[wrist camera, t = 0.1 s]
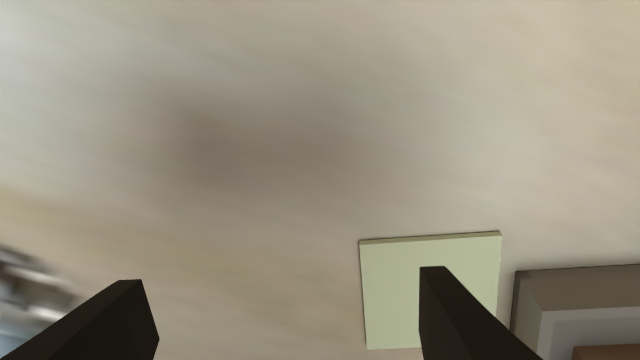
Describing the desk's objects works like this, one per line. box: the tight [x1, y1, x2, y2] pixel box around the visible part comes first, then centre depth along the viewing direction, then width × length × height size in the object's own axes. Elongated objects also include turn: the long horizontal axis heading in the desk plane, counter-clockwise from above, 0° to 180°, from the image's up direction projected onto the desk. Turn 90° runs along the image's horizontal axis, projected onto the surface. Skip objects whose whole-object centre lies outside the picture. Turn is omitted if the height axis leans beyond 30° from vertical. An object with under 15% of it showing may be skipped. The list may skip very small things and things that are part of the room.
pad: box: [359, 231, 503, 350], centre depth 22 cm, size 7×7×1 cm
